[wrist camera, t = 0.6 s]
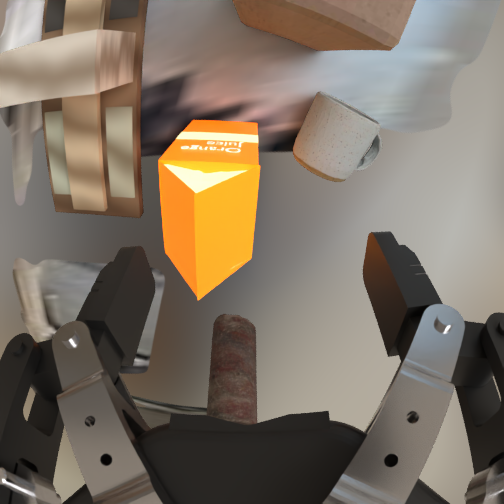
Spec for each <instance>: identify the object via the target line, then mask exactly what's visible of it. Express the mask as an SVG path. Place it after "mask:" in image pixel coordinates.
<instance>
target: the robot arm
mask: <svg viewBox="0 0 504 504" xmlns="http://www.w3.org/2000/svg"><path fill="white" fill-rule="evenodd" d="M363 279H364V284H365V287H366V290H367V293H368V295H369V298H370V301H371V304H372V307H373V310H374V313H375V316H376V319H377V322H378V325H379V328H380V332H381V335H382V338H383V341H384V345H385V348H386V351H387V354H388V357H389V356H396V355H399V356H400V360H401V363H400V365H399V367H398V370H397V371H396V374H395V376H394V378H393V380H392V382H391V384H390V386H389V388H388V390H387V392H386V394H385V396H384V398H383V400H382V401H381V403H380V405H379V407H378V409H377V411H376V412H375V414H374V416H373V417H372V419H371V421H370V423H369V425H368V426H367V428H366V429H365V431H364V432H363V431H361V430H359V429H357V428H355V427H353V426H351V425H348V424H345V423H341V422H337V421H330V420H329V412H328V411H323V412H313V413H301V414H289V415H286V416H282V417H278V418H275V419H271V420H268V421H264V422H260V423H256V424H252V425H243V424H239V423H235V422H231V421H227V420H223V419H219V418H215V417H211V416H207V415H186V414H171V417H170V423H167V424H163V425H160V426H157V427H154V428H152V429H151V428H150V427H149V426H148V424H147V423H146V422H145V420H144V419H143V417H142V416H141V414H140V412H139V410H138V408H137V407H136V405H135V403H134V401H133V399H132V397H131V395H130V393H129V391H128V389H127V387H126V385H125V382H124V381H123V378H122V376H121V375H120V373H119V370H120V367H121V365H128V366H133V363H134V359H135V356H136V352H137V349H138V346H139V342H140V339H141V335H142V332H143V329H144V326H145V322H146V319H147V316H148V313H149V310H150V307H151V303H152V300H153V297H154V294H155V280H154V277H153V274H152V271H151V268H150V266H149V263H148V260H147V257H146V255H145V251H144V249H143V248H142V247H141V246H135V247H123V248H121V249H120V250H119V252H118V254H117V256H116V257H115V260H114V261H113V262H109V263H108V264H107V265H106V266H105V267H104V268H103V269H102V270H101V271H100V273H99V275H98V277H97V279H96V281H95V283H94V285H93V286H92V288H91V292H89V294H88V296H87V298H86V300H85V302H84V304H83V306H82V308H81V310H80V312H79V315H78V317H77V319H76V321H72V322H69V323H66V324H65V325H63V326H62V327H60V328H59V329H58V330H57V332H56V333H55V335H54V337H53V339H51V340H47V341H43V342H39V343H36V341H35V340H34V339H33V338H32V336H31V335H30V334H27V333H22V334H19V335H17V336H15V337H14V338H13V339H12V340H11V341H10V342H9V343H8V345H7V346H6V348H5V351H4V353H3V355H2V357H1V360H0V504H61V497H60V496H59V494H57V493H56V490H55V488H54V486H53V478H54V472H55V467H56V461H57V456H58V451H59V446H60V442H61V437H62V433H63V429H64V426H65V429H66V432H67V435H68V438H69V441H70V444H71V447H72V449H73V452H74V455H75V458H76V460H77V463H78V465H79V468H80V470H81V473H82V475H83V477H84V480H85V482H86V484H84V485H83V486H82V487H81V488H80V489H79V490H77V491H76V492H75V493H74V494H73V495H72V496H71V497H69V498H68V499H67V500H66V501H64V502H63V503H62V504H450V503H449V502H447V501H446V500H445V499H443V498H442V497H441V496H440V495H438V494H437V493H436V492H435V491H433V490H432V489H431V488H430V487H429V486H427V485H426V484H425V483H424V482H422V481H421V480H420V479H419V475H420V473H421V471H422V469H423V467H424V465H425V463H426V461H427V459H428V457H429V454H430V452H431V450H432V448H433V445H434V443H435V440H436V438H437V435H438V433H439V431H440V428H441V425H442V423H443V420H444V417H445V415H446V412H447V409H448V406H449V403H450V400H451V397H452V394H453V390H454V386H455V388H456V391H457V395H458V399H459V403H460V406H461V411H462V414H463V419H464V423H465V427H466V432H467V436H468V441H469V446H470V451H471V456H472V462H473V468H474V474H475V476H474V477H473V478H472V480H471V481H470V483H469V485H468V488H467V492H466V493H465V501H466V504H504V313H494V314H492V315H490V317H489V318H488V319H487V321H486V323H485V324H483V323H474V322H468V321H464V320H463V318H462V316H461V315H460V314H459V312H458V311H456V310H455V309H454V308H452V307H450V306H447V305H444V304H442V302H441V300H440V298H439V296H438V294H437V292H436V290H435V288H434V286H433V285H432V283H431V281H430V279H429V278H428V276H427V275H426V272H425V270H424V268H423V267H422V266H421V263H420V261H419V260H418V258H417V256H416V255H415V253H414V252H412V251H411V250H410V249H409V248H408V247H406V246H405V245H399V244H398V243H397V241H396V239H395V238H394V236H393V234H392V233H391V232H371V233H370V234H369V236H368V240H367V247H366V253H365V259H364V265H363ZM493 376H494V377H495V380H496V383H497V386H498V389H499V392H500V395H501V402H500V398H499V395H498V392H497V389H496V386H495V383H494V380H493ZM30 387H31V388H32V389H33V390H34V391H35V392H36V395H35V398H34V401H33V404H32V407H31V411H30V414H29V417H28V421H26V420H25V418H24V415H23V407H24V404H25V401H26V398H27V395H28V392H29V389H30Z"/></svg>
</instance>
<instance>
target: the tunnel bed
mask: <svg viewBox="0 0 504 504" xmlns="http://www.w3.org/2000/svg"><path fill="white" fill-rule="evenodd" d="M147 4H148V0H106V3H105V12H104V22H103V30H100V29H96V30H90V31H84V32H79V33H73V34H69V35H64V36H63V26H64V15H65V5H66V0H45V6H44V15H43V26H42V41H39V42H35V43H32V44H28V45H25V46H22V47H18V48H15V49H12V50H9V51H6V52H3V53H0V108H2V107H6V106H11V105H16V104H22V103H27V102H33V101H40V100H41V101H42V118H43V130H44V139H45V149H46V157H47V164H48V170H49V177H50V183H51V189H52V195H53V200H54V205H55V210H56V212H67V213H81V214H95V215H110V216H122V217H134V218H140V217H141V216H142V214H143V199H142V178H141V141H140V114H141V78H142V59H143V45H144V33H145V22H146V13H147ZM99 92H100V110H101V138H102V155H103V168H104V179H105V189H106V198H107V206H108V208H107V209H106V211H91V210H76V209H74V208H73V202H72V196H71V190H70V183H69V176H68V168H67V160H66V151H65V141H64V129H63V113H62V97H70V96H79V95H90V94H97V93H99Z"/></svg>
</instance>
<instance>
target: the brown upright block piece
mask: <svg viewBox="0 0 504 504" xmlns="http://www.w3.org/2000/svg"><path fill="white" fill-rule="evenodd" d="M255 331H256V330H255V326H254V325H253V324H252V323H251V322H249V320H247V319H245V318H242V317H240V316H239V315H226V314H223V315H220V316H219V317H218V318H217V319H216V320H215V322H214V328H213V338H212V352H211V366H210V378H209V391H208V406H207V416H211V417H215V418H219V419H223V420H227V421H231V422H235V423H239V424H243V425H252V424H256V423H257V391H256V390H257V389H256V332H255Z"/></svg>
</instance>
